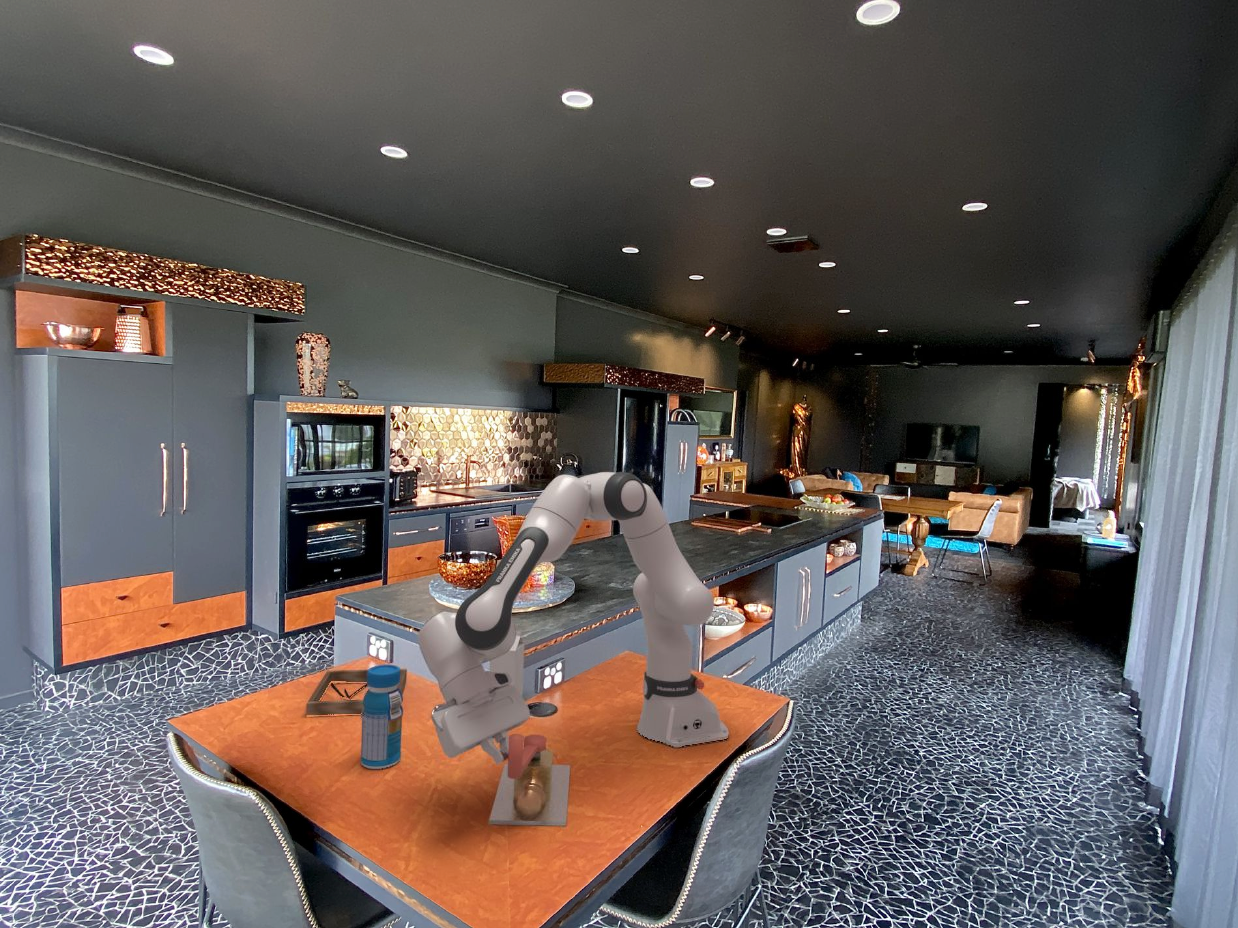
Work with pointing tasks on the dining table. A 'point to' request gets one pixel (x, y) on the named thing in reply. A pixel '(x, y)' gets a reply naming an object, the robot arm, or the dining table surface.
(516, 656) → the milk carton
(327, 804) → the dining table surface
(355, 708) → the glasses tray
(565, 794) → the valve body
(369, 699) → the beverage bottle
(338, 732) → the dining table surface
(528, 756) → the lever
